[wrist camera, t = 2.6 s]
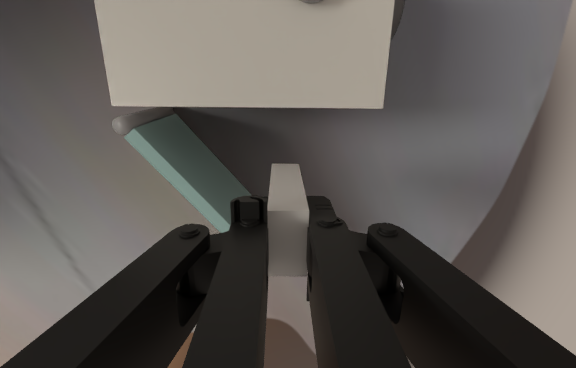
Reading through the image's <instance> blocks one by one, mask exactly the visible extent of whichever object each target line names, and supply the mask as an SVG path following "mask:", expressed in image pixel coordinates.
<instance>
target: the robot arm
mask: <svg viewBox="0 0 576 368" xmlns="http://www.w3.org/2000/svg"><path fill="white" fill-rule="evenodd" d="M230 209H231V225H230V228H229V231H226V232H223V233H219V234H213V235H210V233H209V229H208V228H207V227H206V226H204V225H199V224H189V225H188V224H186V225H183V226H180V227H177V228H176V229H174V230H172V231H171V232H170V233H168V234H167V235H166V236H164V237H163V238H162V239H161V240H159V241H158V242H157V243H156V244H154V245H153V246H152V247H151V248H149V249H148V250H147V251H146V252H144V253H143V254H142V255H141V256H139V257H138V258H137V259H136V260H134V261H133V262H132V263H131V264H129V265H128V266H127V267H126V268H124V269H123V270H122V271H121V272H119V273H118V274H117V275H116V276H114V277H113V278H112V279H110V280H109V281H108V282H107V283H105V284H104V285H103V286H102V287H100V288H99V289H98V290H97V291H95V292H94V293H93V294H92V295H90V296H89V297H88V298H87V299H85V300H84V301H83V302H82V303H80V304H79V305H78V306H77V307H75V308H74V309H73V310H72V311H70V312H69V313H68V314H67V315H65V316H64V317H63V318H62V319H60V320H59V321H58V322H56V323H55V324H54V325H53V326H51V327H50V328H49V329H48V330H46V331H45V332H44V333H43V334H41V335H40V336H39V337H38V338H36V339H35V340H34V341H33V342H31V343H30V344H29V345H28V346H26V347H25V348H24V349H23V350H21V351H20V352H19V353H18V354H16V355H15V356H14V357H13V358H11V359H10V360H9V361H8V362H6V363H5V364H4V365H3V366H1V367H0V368H167V367H168V366H169V364H170V363H171V361H172V360H173V358H174V357H175V355H176V353H177V352H178V351H179V349H180V347H181V346H182V345H183V343H184V342H185V340H186V339H187V337H188V336H189V334H190V333H191V331H192V330H193V328H194V327H195V325H196V324H197V325H196V328H195V331H194V334H193V337H192V341H191V343H190V346H189V349H188V352H187V355H186V358H185V361H184V364H183V367H182V368H263V367H264V350H265V332H266V314H267V296H268V276H307V270H308V278H307V301H310V309H311V317H312V324H313V332H314V340H315V348H316V355H317V362H318V368H411V366H410V364H409V362H408V359H409V360H410V362H411V363H412V364H413V365H414V367H415V368H576V356H575V355H574V354H572V353H571V352H570V351H568V350H567V349H566V348H564V347H563V346H561V345H560V344H559V343H558V342H556V341H555V340H553V339H552V338H551V337H549V336H548V335H547V334H545V333H544V332H543V331H541V330H540V329H538V328H537V327H536V326H534V325H533V324H532V323H530V322H529V321H528V320H526V319H525V318H523V317H522V316H521V315H519V314H518V313H517V312H515V311H514V310H513V309H511V308H510V307H508V306H507V305H506V304H505V303H503V302H502V301H500V300H499V299H498V298H496V297H495V296H494V295H492V294H491V293H490V292H488V291H487V290H485V289H484V288H483V287H481V286H480V285H478V284H477V283H476V282H475V281H473V280H472V279H470V278H469V277H468V276H467V275H465V274H464V273H462V272H461V271H460V270H458V269H457V268H456V267H454V266H453V265H452V264H450V263H449V262H447V261H446V260H445V259H443V258H442V257H441V256H439V255H438V254H437V253H435V252H434V251H433V250H431V249H430V248H428V247H427V246H426V245H424V244H423V243H422V242H420V241H419V240H418V239H416V238H415V237H414V236H412V235H411V234H409V233H408V232H407V231H405V230H404V229H402V228H400V227H399V226H395V225H393V224H390V223H388V224H387V223H377V224H373V225H371V226H369V227H368V233H367V234H363V233H357V232H353V231H350V230H348V227H347V225H346V223H345V222H344V221H343V220H342V219H340V218H338V217H336V214H335V212H334V210H333V207H332V205H331V202H330V200H329V199H327V198H326V197H324V196H306V194H305V190H304V185H303V181H302V176H301V172H300V167H299V164H272V167H271V177H270V186H269V196H268V197H259V196H251V195H250V196H241V197H237V198H235V199H232V201H231V202H230ZM401 281H402V283H403V287H404V289H403V288H402V287H401V286H400V282H401ZM197 322H198V323H197ZM406 356H407V357H408V359H407V357H406Z"/></svg>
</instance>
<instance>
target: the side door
mask: <svg viewBox="0 0 576 368" xmlns="http://www.w3.org/2000/svg"><path fill="white" fill-rule="evenodd" d="M112 127H113V129H114V131H115V132H116V133H118V134H120V135H126V134H127V135H126V136H125V137H124V138H125V139H126V140H127V141H128V142H129V143H130V144H131V145H132V146H133V147H134V148H135V149H136V150H137V151H138V152H139V153H140V154H141V155H142V156H143V157H144V158H145V159H146V160H147V161H148V162H149V163H150V164H151V165H152V166H153V167H154V168H155V169H156V170H157V171H158V172H159V173H160V174H161V175H162V176H163V177H164V178H165V179H166V180H168V181H169V182H170V183H171V184H172V185H173V186H174V187H175V188H176V189H177V190H178V191H179V192H180V193H181V194H182V195H183V196H184V197H185V198H186V199H187V200H188V201H189V202H190V203H191V204H192V205H193V206H194V207H195V208H196V209H197V210H198V211H199V212H200V213H201V214H202V215H203V216H204V217H205V218H206V219H207V220H208V221H209V222H210V223H211V224H212V225H213V226H214V227H215V228H216V229H217V230H218V231H219V232H220V233H223V232H226V231H229V228H230V225H231V209H230V202H231V201H232V199H235V198H237V197H241V196H250V195H251V194H250V193H249V192H248V191H247V189H246V188H245V187H244V186H243V185H242V184H241V183H240V182H239V181H238V180H237V179H236V178H235V177H234V176H233V174H232V173H231V172H230V171H229V170H228V169H227V168H226V167H225V166H224V165H223V164H222V163H221V162H220V160H219V159H218V158H217V157H216V156H215V155H214V154H213V153H212V152H211V151H210V150H209V149H208V148H207V146H206V145H205V144H204V143H203V142H202V141H201V140H200V139H199V138H198V137H197V136H196V135H195V134H194V133H193V131H192V130H191V129H190V128H189V127H188V126H187V125H186V124H185V123H184V122H183V121H182V120H181V119H180V117H179V116H178V115H177V114H174V110H173V108H172V107H157V108H152V109H148V110H144V111H140V112H136V113H132V114H127V115H123V116H119V117H116V118H115V119H114V120H113V122H112ZM251 196H252V195H251Z"/></svg>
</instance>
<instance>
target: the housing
mask: <svg viewBox="0 0 576 368" xmlns="http://www.w3.org/2000/svg"><path fill="white" fill-rule="evenodd" d="M94 3H95V9H96V15H97V21H98V27H99V33H100V39H101V45H102V51H103V57H104V63H105V68H106V74H107V80H108V86H109V92H110V98H111V104H112V106H157V107H204V108H309V109H349V108H366V109H383V103H384V94H385V84H386V75H387V66H388V57H389V48H390V41H391V39H392V38H393V36H394V35H395V33H396V30H397V28H398V25H399V23H400V19H401V16H402V12H403V8H404V3H405V0H94Z"/></svg>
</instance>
